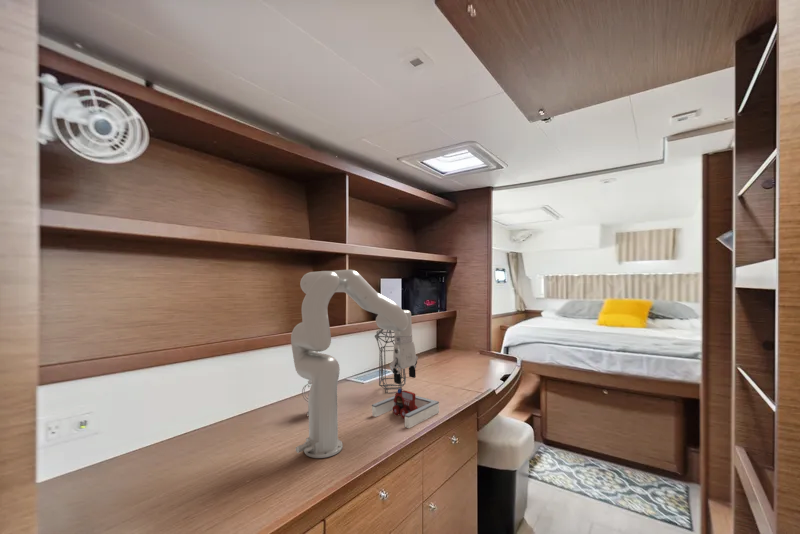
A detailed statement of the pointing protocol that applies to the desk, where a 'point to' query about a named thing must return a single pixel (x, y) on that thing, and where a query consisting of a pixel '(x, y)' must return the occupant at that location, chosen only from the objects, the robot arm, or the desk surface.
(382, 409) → the white u-shaped wall
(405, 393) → the toy fire truck
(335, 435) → the robot arm
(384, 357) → the geometric lantern
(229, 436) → the desk surface
